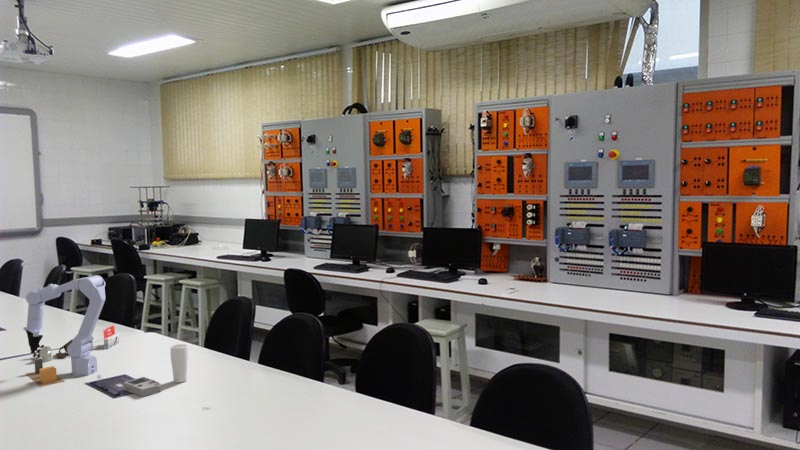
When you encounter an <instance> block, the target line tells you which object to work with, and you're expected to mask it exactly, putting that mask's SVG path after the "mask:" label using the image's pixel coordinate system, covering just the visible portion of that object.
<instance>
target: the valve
mask: <svg viewBox="0 0 800 450" xmlns="http://www.w3.org/2000/svg"><path fill="white" fill-rule="evenodd" d="M30 354H32V357H34V358H37V359H39V358H41V359H42V363H48V362H51V361H52V348H51V346H45V345H44V344H39V345H38V348H37V351H31V350H30ZM36 356H37V357H36Z"/></svg>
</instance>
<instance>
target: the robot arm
mask: <svg viewBox="0 0 800 450" xmlns="http://www.w3.org/2000/svg"><path fill="white" fill-rule="evenodd" d="M105 281H106V280H104V278H103V277H102V276H101V275H99V274H98V275H96V274H95V275H92V276H87V277H86V276H85V277H81V278H76V279H73V280H70V281H68V282H65V283H62V284H60V285H58V284H56V283H54V284H53V283H49V284H48V285H47V286H45V287H40V288H37V290H33V291H30V292H28V293H27V294H26V297H25V301H26V302H27V304H28V306H27V308H28V309H27V319H26V327H23V328H22V329H23V331H25V333H26V337H27V341H28V346H29V348H30V352H31V351H35V352H37V350H38V349H39V348H38V345H40V342H41V341H42V339H43V337H44V336H43V334H40V332H41V331H42V330H43V321H44V320H43V319H44V309H45V303H46V302H47V301H50V300H53V299H56V298H59V297H60V296H62V293H65V292H67V291H71V290H73V289H76V290H77V291H80V292H81V293H82V294H83V295H85V296H86V297H87V299H89V304H88V307H87V309H86V311H85V314H84V317H83V320H82V322H81V325H80V326H79V327H80V328H79V330H78V333H77V334H76V335H75V336H74V337H73V338H72V339H73V341H72V343H71V344H70V345H69V346H68V347H67V352H68V353H67V352H66V353H67V354H69V355H68V356H70V359H71V361H70V362H71V375H72V376H77V377H79V376H86V377H87V376H88V377H89V376H90V375H93V374H95V373H97V372H98V360H97V357H96V356H95V355H92V354H91V350H92V349H93V347H94V343H93V342H94V341H93V340H94V336H93V333H94V330H95V328H96V325H97V323H98V321H99V317H100V315H101V312H102V309H103V307H104V304H105V301H106V290H105V287H106V282H105Z"/></svg>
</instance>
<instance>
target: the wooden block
mask: <svg viewBox="0 0 800 450" xmlns="http://www.w3.org/2000/svg"><path fill="white" fill-rule="evenodd" d="M33 361H34V371H32V372H27V373H25V375H26V376H27V377H29V379H30V380H32V381H33V382H34V383H35V384H36V385H38V386H39V387H41V388H42V387H45V386H50V385H55V384H60V383H64V382H66V381H65V380H64V379H62V378H61V377H60V376H59V375H57V380H56V381H51V382H47V383H42V382H41V381H40V371H39V369H41V368H44V367H43V366H44V365H43V362H42V357H40V358H35V359H34V360H33Z"/></svg>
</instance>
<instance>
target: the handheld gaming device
mask: <svg viewBox="0 0 800 450" xmlns="http://www.w3.org/2000/svg"><path fill="white" fill-rule="evenodd" d="M123 390H124V391H127V392H129V393H132V394H134V395H137V396H138V397H139V396H140V397H141V398H144V397H147V396H151V395H154V394H156V393H161V392H162V384H161V383H160V382H159V381H156V380H154V379H151V378H149V377H145V376H141V377H138V378H134V379H130V380H126V381H123Z"/></svg>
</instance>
